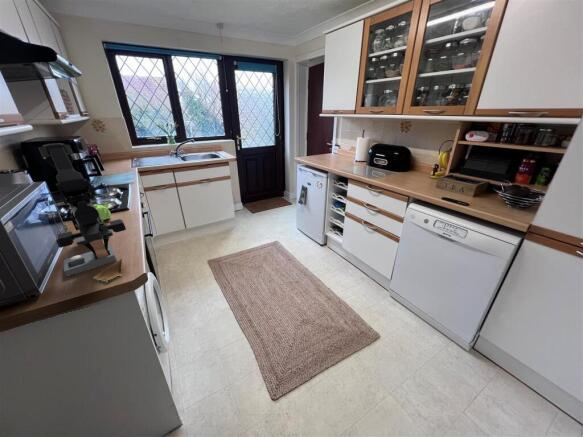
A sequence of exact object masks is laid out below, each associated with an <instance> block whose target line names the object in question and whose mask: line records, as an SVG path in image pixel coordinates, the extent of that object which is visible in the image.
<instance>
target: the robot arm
mask: <svg viewBox="0 0 583 437" xmlns="http://www.w3.org/2000/svg"><path fill="white" fill-rule="evenodd" d="M38 150H39V152H40V154H41V156H42V158H43V159H44V160H46V162H47V163H48V164H49V165H50V166H52V167H53V168H54V169H55V170H56V171H57V174H56V176H55V178H56V181H57V183H55V186H56V188H57V190H58V192H59V194H60V197H61V199H62V201H63V204H64V205H69V207H70V214H71V216H70V220H71V222H72V225H73V227H74V229H75V230H76V231H79V232H76V233H73V232H72V231H66V232H62V233H57V235H56V239H55V241H56V244H57V246H58V247H59V248H60V249H61V248H65V247H68V246H69V247H70V246H72V245H73V244H74V241H75V243H76V245H77V246H80V245H82V246H84V247H86V248H87V249H88V250H89V252H91V251H92V252H93V253H94V254H95V255H96V253H95V250H94V248H93V246H92V243H91V242H92V241H95V240H100V239H102V241H103V242H104V246H105V249H106V251H108V246H109V241H110V237H112V236H114V234H113V232H114V233H120V232H124V231H126V230H127V228H126V225H125V223H124V221H123V219H121V218H118V219H114V220H111V221H109V224H106V222H103V223H101V222H102V221H101V219H100V215H99V213H98V211H97V209H96V208H95V206H94V205H95V204H93V202H92V199H95V198H96V196H95V195H96V192H95V190H94V187H93V186H92V183H91V182H90V181H89V180H88V179H87V178H84V177H83V174H82V172H80V171H79V172H78V171H77V170H75V168H74V166H73V165H72V164H73V161H74V160H73V158H72V157H73V156H74V152H73V150H72V147H71V145H70V144H65V143H61V142H58V143H47V144H43V145H42V146H40V147H38Z"/></svg>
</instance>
